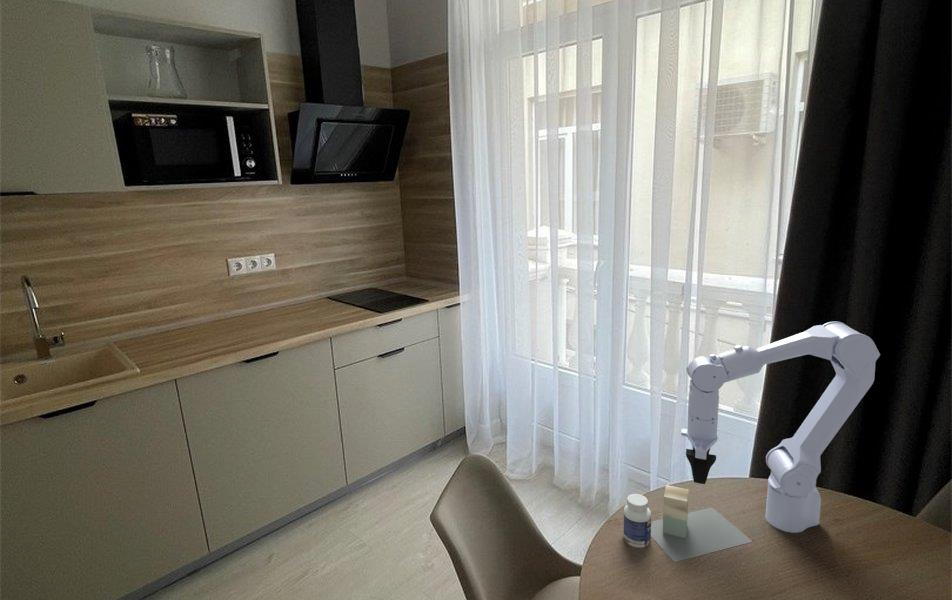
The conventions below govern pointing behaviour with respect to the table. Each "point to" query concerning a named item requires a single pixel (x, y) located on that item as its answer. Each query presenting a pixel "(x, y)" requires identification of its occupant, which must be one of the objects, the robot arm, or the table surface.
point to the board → (699, 535)
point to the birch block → (676, 502)
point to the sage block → (675, 526)
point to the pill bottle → (637, 521)
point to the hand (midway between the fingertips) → (699, 472)
